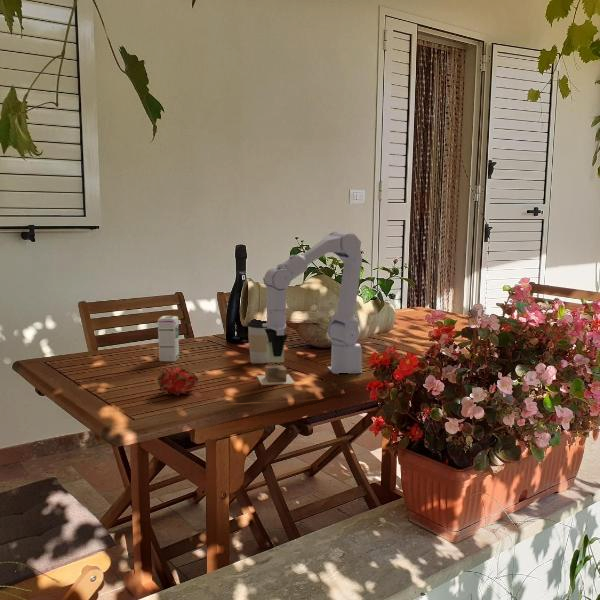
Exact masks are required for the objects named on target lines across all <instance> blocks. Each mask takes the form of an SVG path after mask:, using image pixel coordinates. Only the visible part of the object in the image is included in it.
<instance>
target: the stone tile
mask: <svg viewBox="0 0 600 600" xmlns="http://www.w3.org/2000/svg"><path fill="white" fill-rule="evenodd" d="M256 378H257V379H258V381H259V383H260V384H261V386H266V385H269V386H270V385H271V386H272V385H289V384H290V385H291V384H294V385H295V384H296V382H295V381H294V379H293V378H292V376H291V375H290V374H289V373H286V382H268V381H267V380H266V378H265V374H263V375H256Z"/></svg>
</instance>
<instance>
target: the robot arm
mask: <svg viewBox="0 0 600 600" xmlns="http://www.w3.org/2000/svg"><path fill="white" fill-rule="evenodd" d="M361 246H362V241H361V240H360V239H359V238H358V236H357V235H356V234H354V233H351V232H350V233H347V232H338V231H332V232H330V233H329V234H328V235H325V236H323V238H322V239H321V240H320V241H319V242H317V243H316V244H314V245H313V246H312V247H311V248H309V249H308V250H307V251H305V252H303V254H291V255H289V256H288V259H287V260H285V261H284V262H282V263H278V264H277V265H276V268H275V267H274V268H269V269H268V270H267V271H266V272H265V274H264V277H263V279H262V281H263V284H264V285H265V288H266V318H267V323H266V324H263V327H268V328H270V329H265V331H266V334H267V336H268V340H269V342H271V343H272V349H273V355H274V357H278V356H281V354H282V350H283V346H284V347H285V342H286V340H287V338H288V337H289V334H288V333H286V332H285V329H286V328H287V321H286V320H287V288H288V287H289V286H290V284H291V282H292V281H293V280H294V279H296V278H297V277H299V276H301V275H302V274H303V273H305V272H306V271H307V270H308V266H309V265H310V264H312V263H313V262H314V261H317V260H318V259H320V258H321V257H323V256H325V255H327V254H329V253H333V254H335V255H336V256H338V258H339V259H340V260H341V261H342V263H343V268H342V277H341V281H340V282H341V284H340V290H339V296H338V303H337V310H336V313H334V314H333V315H332V316H331V321H330V323H329V324H328V326H327V336H328V337H329V338H330V343H331V352H330V353H331V356H330V357H331V358H330V359H331V361H330V366H327V369H328V370H330V372H331V373H332V374H336V375H340V374H339V373H348V374H362V373H363V371H362V365H363V363H362V362H363V350H362V349H363V348H362V346H361V344H360V343H357V342H358V340H359V337H360V330H359V321H358V318H357V317H356V316H355V311H356V306H357V298H358V291H359V285H360V284H359V283H360V279H361V278H360V277H361V272H362V264H363V256H362V252H361Z"/></svg>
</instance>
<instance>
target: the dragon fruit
mask: <svg viewBox="0 0 600 600" xmlns="http://www.w3.org/2000/svg"><path fill="white" fill-rule="evenodd" d="M185 368H186V367H185V366H182V367H180V368H178V366H174V367H172V368H169V367H166V368H165V370H163V371H162V372H161V374H159V375H158V376H157V380H158V381H156V383H157V385H158V386H159V387H160V388H159V391H160V392H162V393H163V392H164V393H165V392H167V394H168V395H169V396H171V395H174V396H177V397H178V396H180V394H185V395H189V394H190V393H192V392H193V391H192V390H191V389H193V388H194V387H195V385H196V383H197V382H198V381H199V378H198V377H197V374H195V373H193V372H192V371H189V370H188V371H187V370H186V369H185Z"/></svg>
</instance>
